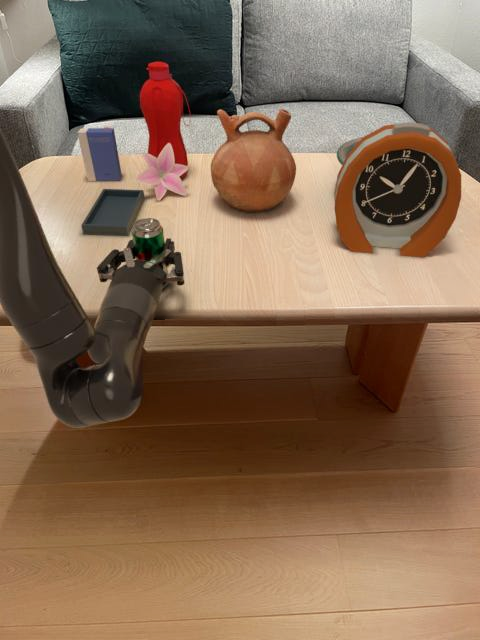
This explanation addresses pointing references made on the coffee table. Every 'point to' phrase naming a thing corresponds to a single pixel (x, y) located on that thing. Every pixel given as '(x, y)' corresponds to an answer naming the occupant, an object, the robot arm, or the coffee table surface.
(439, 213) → the alarm clock
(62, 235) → the coffee table surface
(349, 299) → the coffee table surface
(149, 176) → the lily
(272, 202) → the jug
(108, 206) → the tray
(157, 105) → the water bottle
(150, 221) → the soda can
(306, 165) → the coffee table surface
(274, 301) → the coffee table surface
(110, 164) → the walkman
